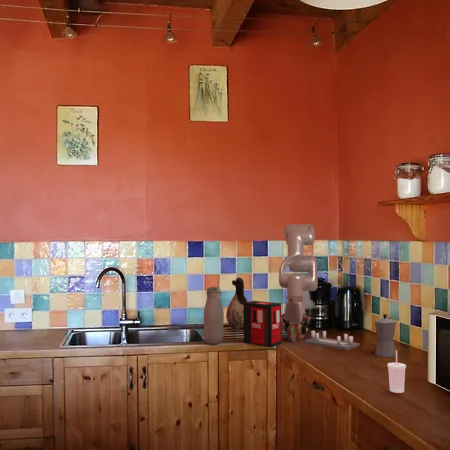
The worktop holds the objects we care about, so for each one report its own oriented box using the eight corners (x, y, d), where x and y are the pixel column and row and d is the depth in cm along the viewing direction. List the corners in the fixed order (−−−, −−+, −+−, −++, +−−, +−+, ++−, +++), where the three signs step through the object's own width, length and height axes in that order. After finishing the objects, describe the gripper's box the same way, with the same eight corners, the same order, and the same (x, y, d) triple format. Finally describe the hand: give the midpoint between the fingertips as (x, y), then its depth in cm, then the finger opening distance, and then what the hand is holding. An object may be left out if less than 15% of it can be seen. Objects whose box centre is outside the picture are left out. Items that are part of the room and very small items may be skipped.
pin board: (304, 343, 254) (304, 332, 254) (317, 339, 263) (317, 328, 263) (347, 350, 238) (346, 338, 238) (359, 345, 247) (359, 334, 247)
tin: (290, 343, 254) (290, 326, 254) (285, 342, 256) (285, 325, 256) (305, 338, 266) (305, 321, 266) (300, 337, 268) (300, 321, 268)
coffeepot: (393, 359, 220) (392, 317, 220) (371, 356, 225) (370, 315, 225) (400, 351, 234) (399, 312, 234) (379, 349, 238) (378, 310, 239)
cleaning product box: (243, 342, 256) (243, 302, 256) (254, 339, 263) (254, 300, 263) (271, 347, 245) (270, 305, 245) (281, 344, 252) (281, 303, 252)
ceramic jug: (222, 328, 293) (222, 276, 294) (248, 327, 298) (247, 275, 298) (232, 334, 277) (231, 278, 277) (258, 332, 282) (258, 277, 282)
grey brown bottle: (206, 346, 248) (206, 288, 248) (201, 342, 258) (201, 286, 258) (226, 345, 251) (225, 287, 251) (220, 340, 261) (220, 285, 261)
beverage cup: (402, 387, 180) (401, 348, 180) (409, 393, 174) (408, 352, 174) (385, 388, 180) (384, 348, 180) (391, 393, 174) (390, 352, 174)
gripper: (277, 298, 264) (277, 332, 263) (305, 301, 252) (305, 336, 252) (285, 297, 270) (286, 330, 269) (313, 299, 258) (314, 334, 257)
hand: (295, 333), depth 260 cm, fingers open, 9 cm apart
